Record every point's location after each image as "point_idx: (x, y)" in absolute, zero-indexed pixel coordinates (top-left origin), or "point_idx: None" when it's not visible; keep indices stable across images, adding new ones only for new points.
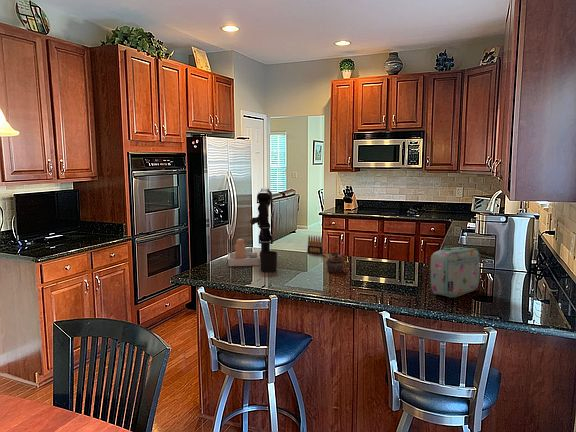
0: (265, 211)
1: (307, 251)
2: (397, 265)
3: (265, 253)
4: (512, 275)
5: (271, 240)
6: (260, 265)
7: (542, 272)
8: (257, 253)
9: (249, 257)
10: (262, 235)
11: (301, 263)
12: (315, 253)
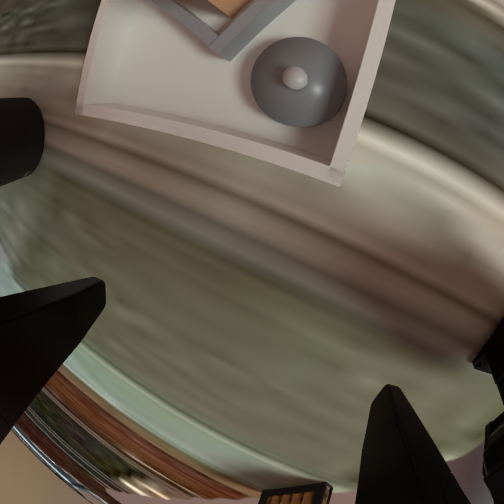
0: None
1: (323, 489)
2: (91, 464)
3: None
4: (53, 466)
5: (484, 448)
6: (5, 98)
7: (70, 486)
8: (277, 154)
9: (208, 44)
10: (384, 414)
11: (112, 349)
12: (288, 489)
